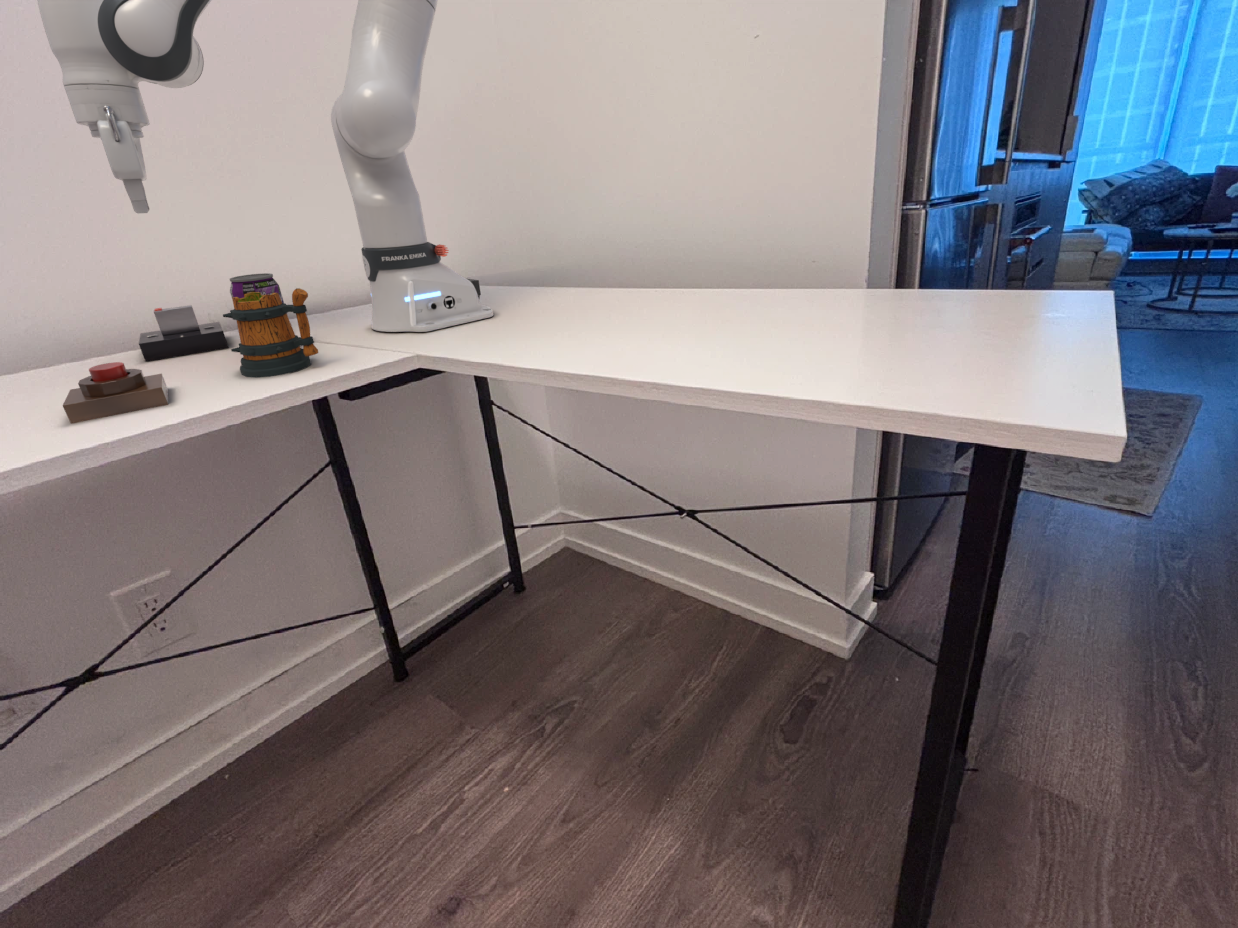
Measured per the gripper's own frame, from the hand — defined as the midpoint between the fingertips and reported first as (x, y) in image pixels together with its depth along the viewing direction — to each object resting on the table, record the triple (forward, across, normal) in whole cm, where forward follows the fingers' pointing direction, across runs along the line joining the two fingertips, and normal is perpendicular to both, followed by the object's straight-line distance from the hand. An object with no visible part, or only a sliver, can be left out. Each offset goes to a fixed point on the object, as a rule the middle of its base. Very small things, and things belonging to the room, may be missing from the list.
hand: (143, 212), depth 97 cm
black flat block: (+22, +2, 0) cm, 22 cm away
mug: (+22, -25, -12) cm, 35 cm away
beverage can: (+22, -11, -12) cm, 27 cm away
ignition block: (+22, -29, +8) cm, 37 cm away
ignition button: (+19, -29, +8) cm, 35 cm away
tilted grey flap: (+19, +2, 0) cm, 19 cm away
